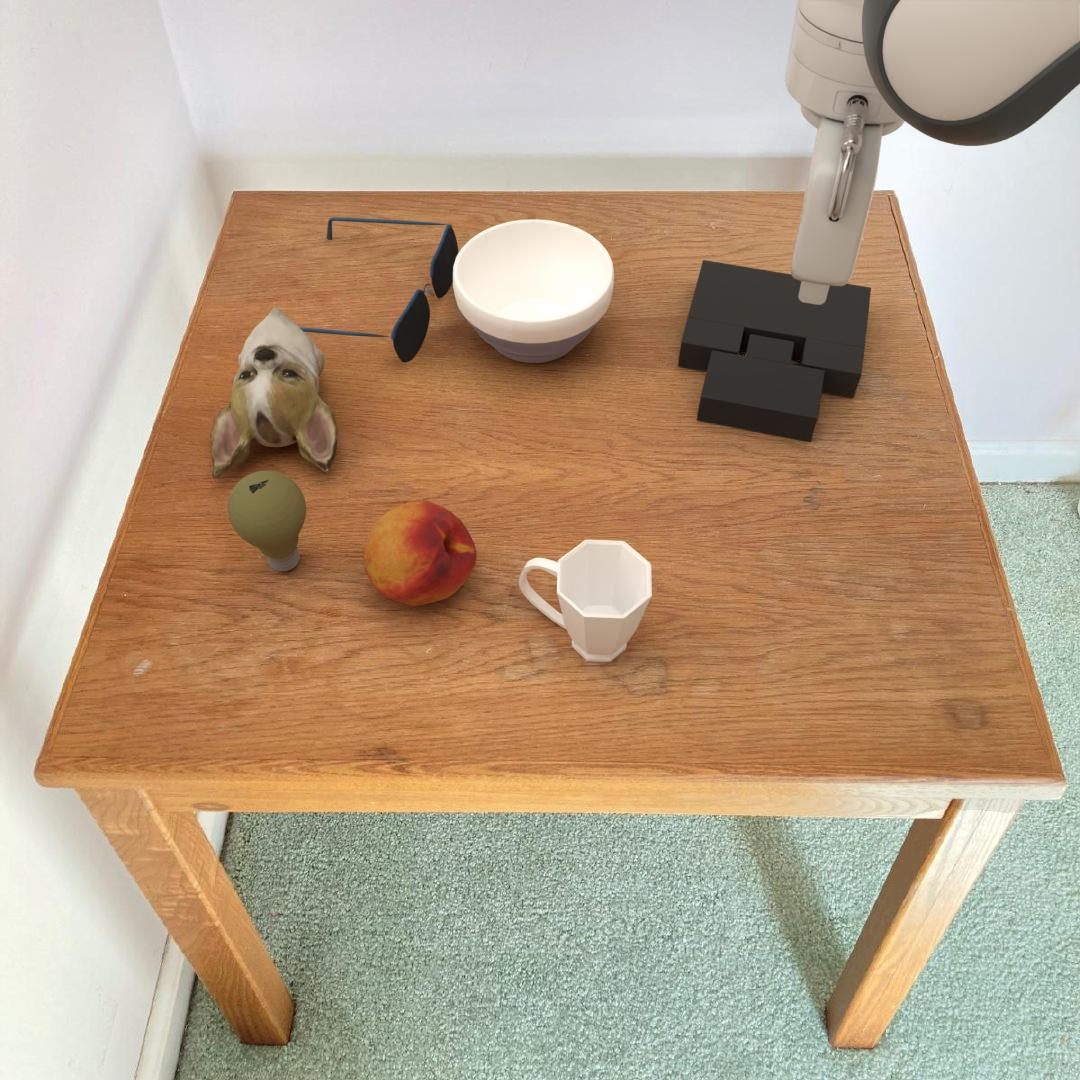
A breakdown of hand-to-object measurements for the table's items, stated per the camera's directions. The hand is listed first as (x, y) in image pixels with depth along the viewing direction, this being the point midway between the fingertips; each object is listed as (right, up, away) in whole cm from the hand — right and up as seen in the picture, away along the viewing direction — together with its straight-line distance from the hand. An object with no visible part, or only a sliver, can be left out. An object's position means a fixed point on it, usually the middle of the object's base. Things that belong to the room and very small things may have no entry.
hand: (819, 253), depth 71 cm
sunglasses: (-36, +3, +29) cm, 47 cm away
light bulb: (-39, -22, +11) cm, 46 cm away
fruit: (-29, -23, +9) cm, 38 cm away
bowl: (-20, 0, +27) cm, 33 cm away
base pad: (+3, -1, +26) cm, 26 cm away
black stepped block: (0, -7, +22) cm, 23 cm away
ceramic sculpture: (-42, -10, +19) cm, 47 cm away
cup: (-16, -27, +7) cm, 32 cm away
